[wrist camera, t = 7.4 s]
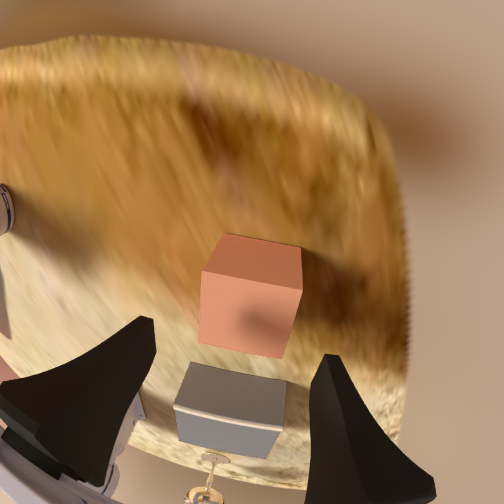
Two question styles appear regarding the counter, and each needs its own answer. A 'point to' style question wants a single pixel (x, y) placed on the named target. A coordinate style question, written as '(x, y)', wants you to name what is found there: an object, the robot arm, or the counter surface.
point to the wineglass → (205, 498)
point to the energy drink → (6, 211)
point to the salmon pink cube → (250, 295)
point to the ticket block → (230, 410)
